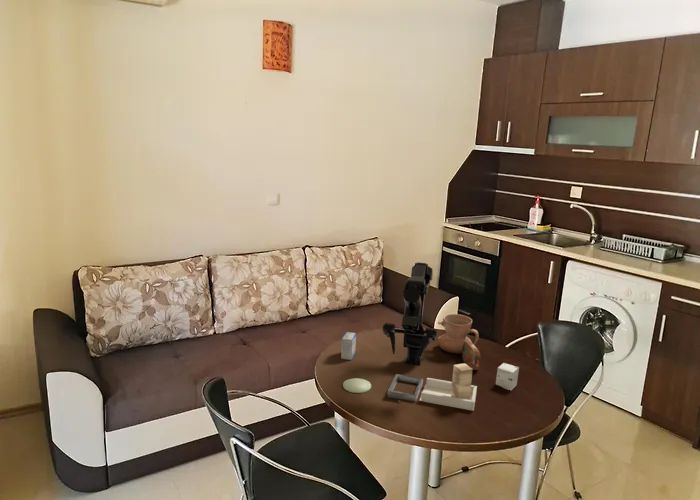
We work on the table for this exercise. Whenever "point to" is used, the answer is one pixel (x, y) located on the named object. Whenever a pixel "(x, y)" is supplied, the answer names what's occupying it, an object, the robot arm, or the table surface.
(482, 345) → the table surface
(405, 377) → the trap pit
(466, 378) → the maple block
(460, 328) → the ceramic jug
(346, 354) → the medicine box
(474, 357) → the tin
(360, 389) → the pad
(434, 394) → the cream rectangular tray
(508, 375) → the skincare box
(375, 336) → the table surface
